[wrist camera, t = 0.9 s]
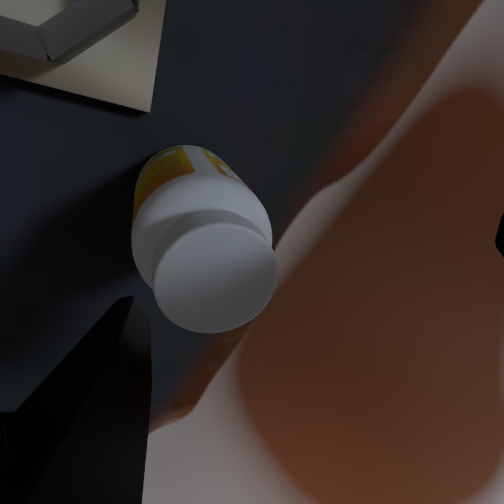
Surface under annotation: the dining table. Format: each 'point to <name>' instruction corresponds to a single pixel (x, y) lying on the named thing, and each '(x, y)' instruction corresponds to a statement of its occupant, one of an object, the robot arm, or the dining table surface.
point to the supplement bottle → (202, 241)
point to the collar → (84, 46)
